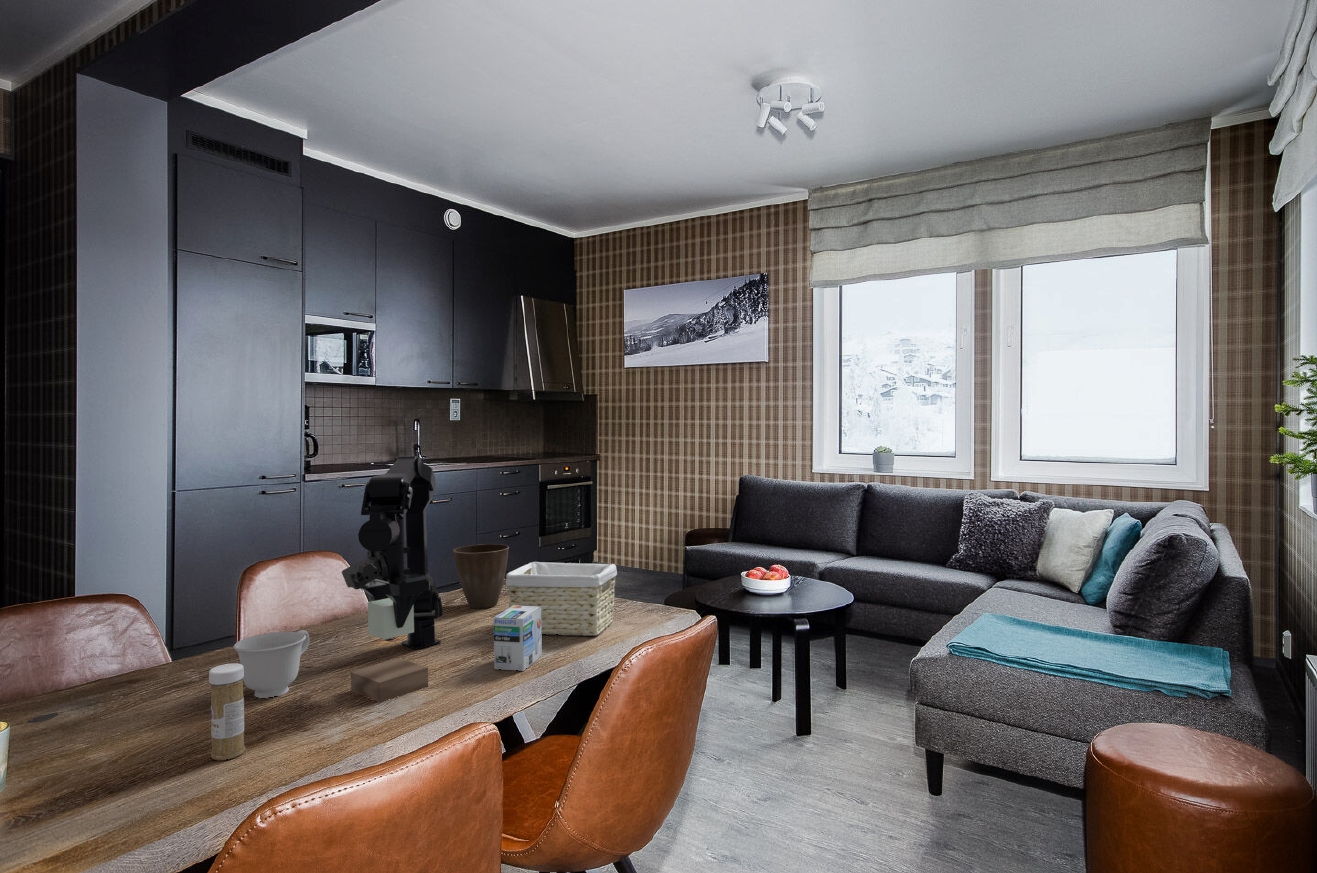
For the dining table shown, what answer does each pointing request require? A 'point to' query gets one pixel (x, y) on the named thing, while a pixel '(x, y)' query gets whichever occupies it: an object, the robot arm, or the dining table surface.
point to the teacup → (271, 660)
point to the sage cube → (387, 620)
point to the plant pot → (481, 572)
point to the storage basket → (566, 595)
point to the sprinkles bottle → (227, 711)
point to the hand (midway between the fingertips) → (391, 625)
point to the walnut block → (389, 679)
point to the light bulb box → (517, 637)
